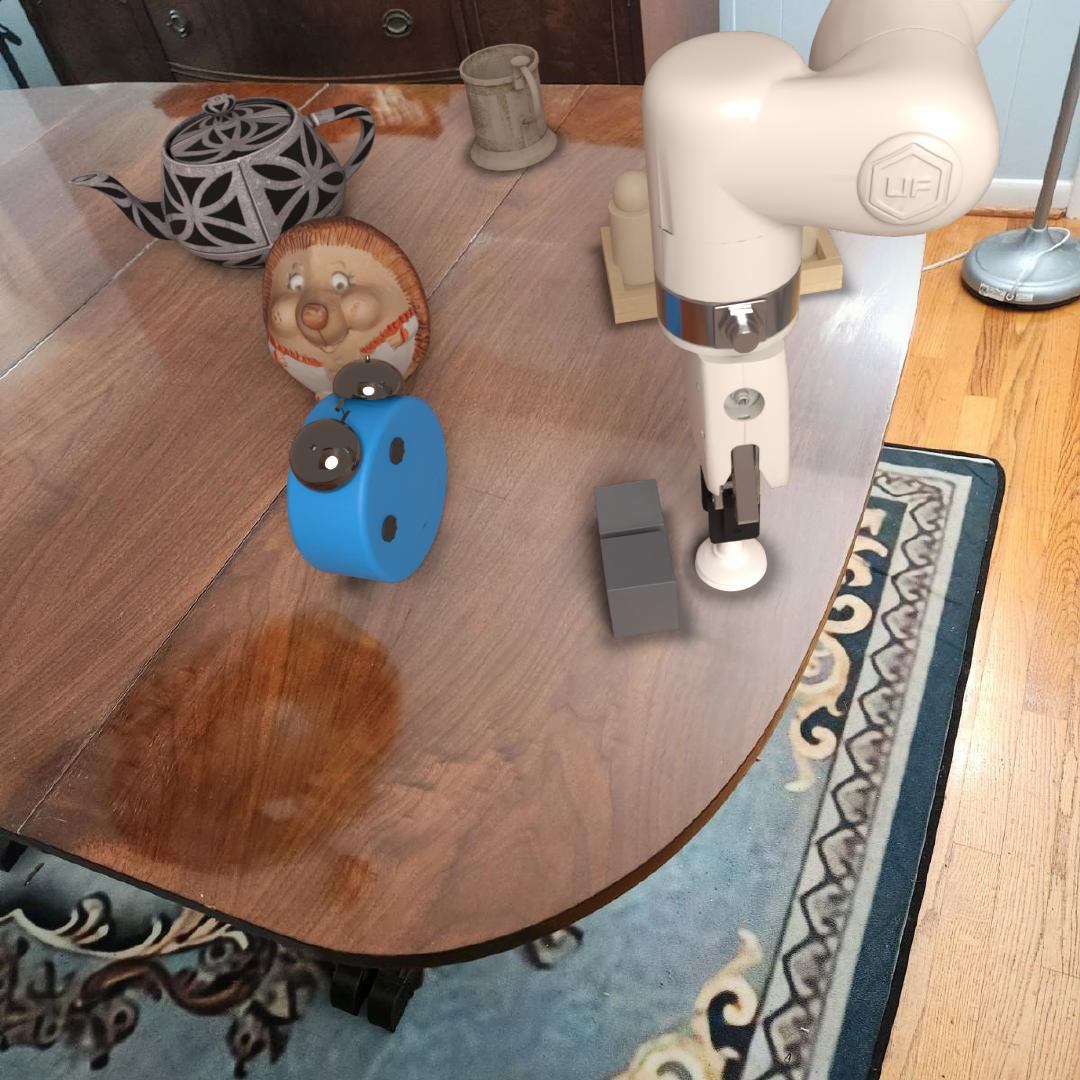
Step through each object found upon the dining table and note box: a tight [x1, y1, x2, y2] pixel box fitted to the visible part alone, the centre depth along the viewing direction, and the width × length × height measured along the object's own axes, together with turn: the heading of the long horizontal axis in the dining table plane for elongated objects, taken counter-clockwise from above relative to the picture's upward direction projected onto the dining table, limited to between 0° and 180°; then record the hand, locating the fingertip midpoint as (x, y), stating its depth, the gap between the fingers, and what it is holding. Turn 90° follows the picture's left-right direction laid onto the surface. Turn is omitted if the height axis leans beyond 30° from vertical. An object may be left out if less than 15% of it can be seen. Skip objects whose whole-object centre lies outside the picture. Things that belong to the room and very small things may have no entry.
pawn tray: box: [599, 169, 845, 325], centre depth 89 cm, size 20×12×11 cm, turn 93°
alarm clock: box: [286, 355, 448, 584], centre depth 70 cm, size 13×6×15 cm, turn 162°
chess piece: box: [694, 481, 768, 592], centre depth 66 cm, size 5×5×10 cm
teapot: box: [68, 92, 376, 270], centre depth 103 cm, size 19×31×15 cm, turn 112°
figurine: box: [261, 215, 431, 403], centre depth 85 cm, size 14×16×15 cm
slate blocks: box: [593, 478, 680, 639], centre depth 69 cm, size 4×10×5 cm, turn 3°
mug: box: [458, 43, 558, 172], centre depth 108 cm, size 14×10×12 cm
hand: (730, 520), depth 67 cm, fingers closed on chess piece
